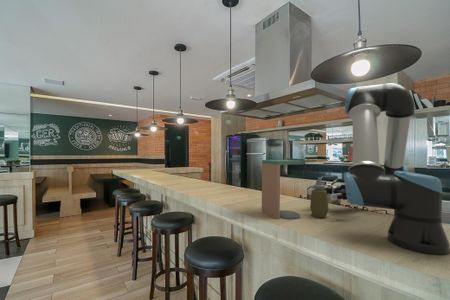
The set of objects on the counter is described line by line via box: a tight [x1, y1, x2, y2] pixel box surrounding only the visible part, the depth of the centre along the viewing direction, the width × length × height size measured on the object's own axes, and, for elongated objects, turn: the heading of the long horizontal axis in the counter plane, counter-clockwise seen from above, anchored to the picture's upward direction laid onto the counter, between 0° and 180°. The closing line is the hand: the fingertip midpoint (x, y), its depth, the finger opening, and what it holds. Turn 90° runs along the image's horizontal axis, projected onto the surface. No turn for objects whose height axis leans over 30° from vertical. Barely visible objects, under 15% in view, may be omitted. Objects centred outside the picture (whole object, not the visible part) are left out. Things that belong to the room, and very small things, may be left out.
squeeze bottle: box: [309, 176, 330, 219], centre depth 101 cm, size 8×8×18 cm
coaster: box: [280, 209, 301, 220], centre depth 102 cm, size 12×12×1 cm
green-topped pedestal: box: [261, 157, 306, 220], centre depth 105 cm, size 12×16×26 cm
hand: (318, 194), depth 101 cm, fingers open, 13 cm apart
